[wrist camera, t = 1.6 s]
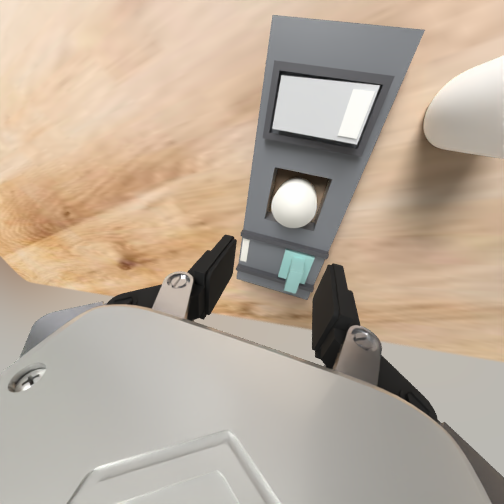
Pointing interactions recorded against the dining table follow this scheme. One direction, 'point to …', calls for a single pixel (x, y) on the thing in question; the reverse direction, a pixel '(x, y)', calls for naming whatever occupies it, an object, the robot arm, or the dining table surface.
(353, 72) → the control panel
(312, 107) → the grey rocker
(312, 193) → the push button
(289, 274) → the teal slide switch
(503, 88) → the can
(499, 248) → the dining table surface
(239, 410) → the robot arm
